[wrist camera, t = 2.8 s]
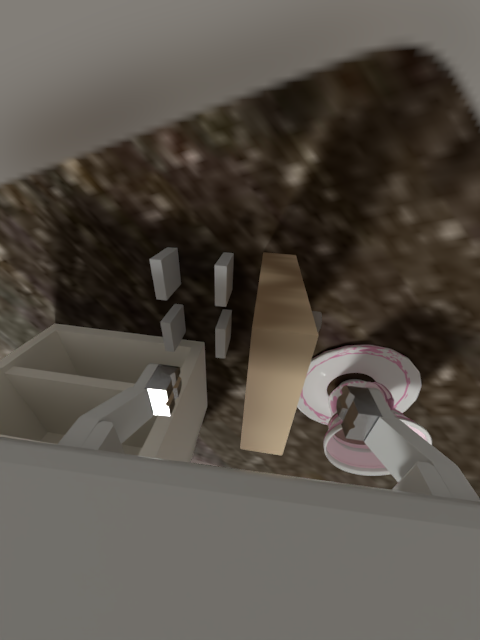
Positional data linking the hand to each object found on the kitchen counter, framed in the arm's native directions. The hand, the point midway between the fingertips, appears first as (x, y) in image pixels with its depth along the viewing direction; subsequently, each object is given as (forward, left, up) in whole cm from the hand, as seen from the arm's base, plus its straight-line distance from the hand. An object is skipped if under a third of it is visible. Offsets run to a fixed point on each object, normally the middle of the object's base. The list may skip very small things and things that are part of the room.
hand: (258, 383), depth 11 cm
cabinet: (+12, +6, -9) cm, 16 cm away
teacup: (-10, +9, -9) cm, 16 cm away
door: (-1, 0, -9) cm, 9 cm away
